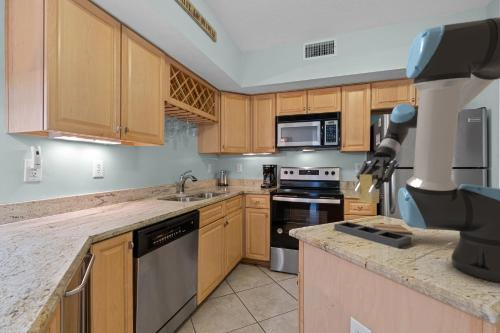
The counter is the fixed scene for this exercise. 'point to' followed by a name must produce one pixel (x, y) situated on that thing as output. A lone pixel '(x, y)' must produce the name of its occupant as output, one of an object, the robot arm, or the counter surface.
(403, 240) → the compartment tray
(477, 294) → the counter surface
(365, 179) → the golden rectangular block
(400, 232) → the coaster
